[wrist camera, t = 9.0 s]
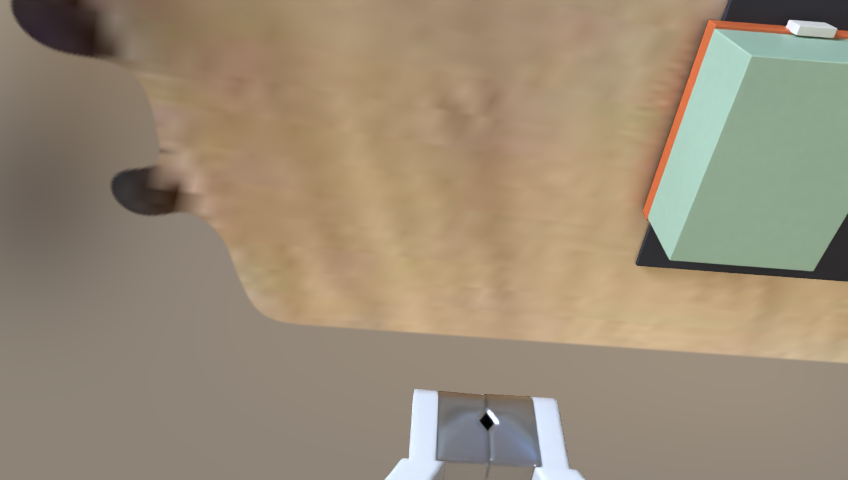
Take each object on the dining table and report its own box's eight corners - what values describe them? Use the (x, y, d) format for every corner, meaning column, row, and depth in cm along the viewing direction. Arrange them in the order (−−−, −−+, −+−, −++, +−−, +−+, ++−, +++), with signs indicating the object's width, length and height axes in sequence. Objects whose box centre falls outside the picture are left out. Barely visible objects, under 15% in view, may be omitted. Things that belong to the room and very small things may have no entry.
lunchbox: (665, 268, 33) (812, 280, 33) (756, 42, 26) (946, 57, 26) (640, 217, 38) (768, 227, 38) (710, 11, 30) (871, 24, 30)
